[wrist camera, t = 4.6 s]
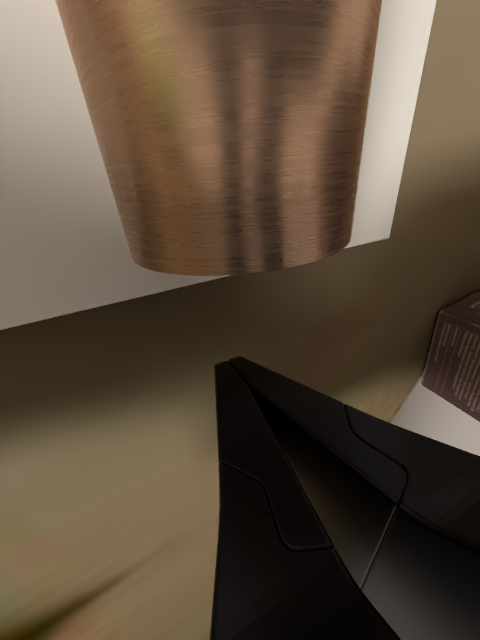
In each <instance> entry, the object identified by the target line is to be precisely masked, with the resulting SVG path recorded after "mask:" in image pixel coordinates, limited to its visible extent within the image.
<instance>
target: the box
mask: <svg viewBox="0 0 480 640" xmlns="http://www.w3.org/2000/svg"><path fill="white" fill-rule="evenodd" d="M421 383H422V385H423V386H424V387H426V388H428V389H429V390H431V391H432V392H434V393H436V394H437V395H439V396H441V397H442V398H444V399H445V400H446V401H448V402H450V403H451V404H453V405H454V406H456V407H457V408H459V409H461V410H462V411H463V412H465V413H467V414H468V415H470V416H472V417H473V418H475V419H476V420H478V421H479V422H480V291H478V292H476V293H474V294H472V295H470V296H469V297H466V298H465V299H463V300H460V301H459V302H457V303H455V304H453V305H451V306H449V307H447V308H445V309H442V310H441V311H440V312H439V315H438V319H437V323H436V326H435V330H434V333H433V338H432V342H431V347H430V350H429V354H428V358H427V362H426V365H425V369H424V371H423V376H422V382H421Z"/></svg>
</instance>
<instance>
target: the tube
mask: <svg viewBox="0 0 480 640" xmlns="http://www.w3.org/2000/svg"><path fill="white" fill-rule="evenodd" d="M55 1H56V5H57V8H58V11H59V15H60V18H61V21H62V25H63V28H64V31H65V35H66V38H67V42H68V45H69V48H70V52H71V55H72V58H73V62H74V65H75V68H76V72H77V75H78V79H79V82H80V85H81V89H82V92H83V95H84V99H85V102H86V105H87V109H88V112H89V115H90V119H91V122H92V126H93V129H94V132H95V136H96V139H97V142H98V146H99V149H100V152H101V156H102V159H103V162H104V166H105V169H106V173H107V176H108V179H109V183H110V186H111V189H112V193H113V196H114V199H115V203H116V206H117V209H118V213H119V216H120V220H121V223H122V226H123V230H124V233H125V236H126V240H127V243H128V246H129V250H130V253H131V257H132V259H133V261H134V262H135V263H136V264H138V265H139V266H141V267H144V268H146V269H149V270H153V271H156V272H162V273H168V274H176V275H188V276H226V275H242V274H251V273H260V272H268V271H274V270H280V269H285V268H290V267H295V266H299V265H303V264H307V263H311V262H314V261H317V260H320V259H323V258H326V257H328V256H331V255H333V254H335V253H337V252H339V251H340V250H342V249H343V248H345V247H346V246H347V245H348V244H349V243H350V240H351V235H352V228H353V220H354V212H355V205H356V197H357V189H358V181H359V174H360V166H361V158H362V151H363V143H364V135H365V128H366V120H367V112H368V104H369V97H370V89H371V81H372V74H373V66H374V58H375V51H376V43H377V35H378V28H379V20H380V12H381V4H382V0H55Z"/></svg>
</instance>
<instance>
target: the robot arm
mask: <svg viewBox="0 0 480 640" xmlns="http://www.w3.org/2000/svg"><path fill="white" fill-rule="evenodd" d="M214 371H215V394H216V416H217V438H218V460H219V505H220V508H219V527H218V544H217V556H216V568H215V581H214V593H213V605H212V618H211V630H210V640H480V456H478V455H475V454H472V453H469V452H466V451H463V450H461V449H458V448H455V447H453V446H450V445H447V444H444V443H442V442H439V441H436V440H433V439H431V438H428V437H425V436H423V435H420V434H417V433H414V432H412V431H409V430H406V429H404V428H401V427H399V426H396V425H393V424H391V423H388V422H386V421H383V420H381V419H378V418H376V417H374V416H371V415H369V414H367V413H364V412H362V411H360V410H358V409H355V408H353V407H351V406H349V405H347V404H345V405H344V404H343V403H342V402H340V401H338V400H336V399H333V398H331V397H329V396H327V395H325V394H322V393H320V392H318V391H316V390H314V389H311V388H309V387H307V386H305V385H303V384H301V383H298V382H296V381H294V380H292V379H290V378H287V377H285V376H283V375H281V374H279V373H276V372H274V371H272V370H270V369H268V368H266V367H263V366H261V365H259V364H257V363H255V362H252V361H250V360H248V359H246V358H244V357H241V356H238V357H235V358H232V359H229V360H228V361H223V362H220V363H218V364H215V366H214Z"/></svg>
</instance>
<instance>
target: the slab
mask: <svg viewBox="0 0 480 640" xmlns="http://www.w3.org/2000/svg"><path fill="white" fill-rule="evenodd" d="M435 5H436V0H382V4H381V12H380V20H379V28H378V35H377V43H376V51H375V58H374V66H373V74H372V81H371V89H370V97H369V104H368V112H367V120H366V128H365V135H364V143H363V151H362V158H361V166H360V174H359V181H358V189H357V197H356V205H355V212H354V220H353V228H352V235H351V240H350V243H349V244H348V245H347V246H346V247H345V248H349V247H353V246H357V245H362V244H366V243H370V242H374V241H378V240H383V239H387V238H389V236H390V231H391V226H392V221H393V216H394V211H395V206H396V201H397V196H398V191H399V186H400V181H401V176H402V171H403V166H404V161H405V156H406V151H407V146H408V141H409V136H410V131H411V126H412V121H413V116H414V111H415V106H416V100H417V95H418V90H419V85H420V80H421V75H422V70H423V65H424V60H425V55H426V50H427V45H428V40H429V35H430V30H431V25H432V20H433V15H434V10H435ZM345 248H343V249H345ZM226 276H231V275H226ZM226 276H188V275H176V274H168V273H162V272H156V271H153V270H149V269H146V268H144V267H141V266H139V265H138V264H136V263H135V262H134V261H133V259H132V257H131V253H130V250H129V246H128V243H127V240H126V236H125V233H124V230H123V226H122V223H121V220H120V216H119V213H118V209H117V206H116V203H115V199H114V196H113V193H112V189H111V186H110V183H109V179H108V176H107V173H106V169H105V166H104V162H103V159H102V156H101V152H100V149H99V146H98V142H97V139H96V136H95V132H94V129H93V126H92V122H91V119H90V115H89V112H88V109H87V105H86V102H85V99H84V95H83V92H82V89H81V85H80V82H79V79H78V75H77V72H76V68H75V65H74V62H73V58H72V55H71V52H70V48H69V45H68V42H67V38H66V35H65V31H64V28H63V25H62V21H61V18H60V15H59V11H58V8H57V5H56V1H55V0H0V330H2V329H7V328H11V327H15V326H19V325H24V324H28V323H32V322H36V321H40V320H45V319H49V318H53V317H57V316H62V315H66V314H70V313H74V312H78V311H83V310H87V309H91V308H95V307H100V306H104V305H108V304H112V303H117V302H121V301H125V300H129V299H133V298H138V297H142V296H146V295H150V294H155V293H159V292H163V291H167V290H171V289H176V288H180V287H184V286H188V285H193V284H197V283H201V282H205V281H209V280H214V279H218V278H222V277H226Z"/></svg>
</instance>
